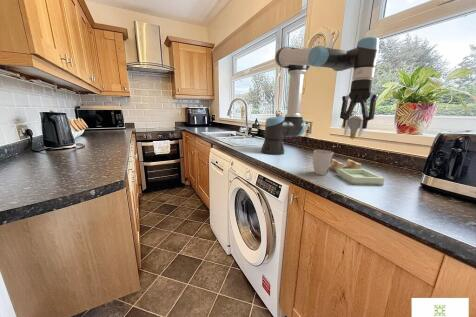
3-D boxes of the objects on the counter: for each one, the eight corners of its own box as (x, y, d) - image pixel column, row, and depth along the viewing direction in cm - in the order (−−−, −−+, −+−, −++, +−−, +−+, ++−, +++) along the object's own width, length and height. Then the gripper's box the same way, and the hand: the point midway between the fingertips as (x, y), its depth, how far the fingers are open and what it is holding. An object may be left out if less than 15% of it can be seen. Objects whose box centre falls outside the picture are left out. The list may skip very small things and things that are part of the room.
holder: (329, 167, 97) (331, 158, 96) (348, 168, 98) (349, 159, 96) (339, 173, 88) (341, 163, 87) (359, 174, 88) (361, 164, 87)
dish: (336, 174, 86) (337, 168, 86) (363, 175, 87) (364, 169, 86) (352, 184, 75) (353, 177, 74) (383, 185, 75) (384, 178, 74)
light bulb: (347, 139, 85) (352, 115, 82) (343, 137, 90) (347, 115, 88) (361, 139, 84) (365, 116, 82) (356, 138, 89) (360, 116, 87)
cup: (332, 177, 83) (336, 154, 81) (312, 175, 84) (315, 152, 82) (327, 171, 91) (331, 150, 88) (309, 170, 92) (312, 149, 90)
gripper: (335, 81, 86) (328, 133, 92) (384, 75, 72) (373, 138, 77) (344, 83, 91) (336, 133, 96) (391, 78, 76) (380, 137, 82)
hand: (353, 135), depth 87 cm, fingers closed on light bulb, 5 cm apart
